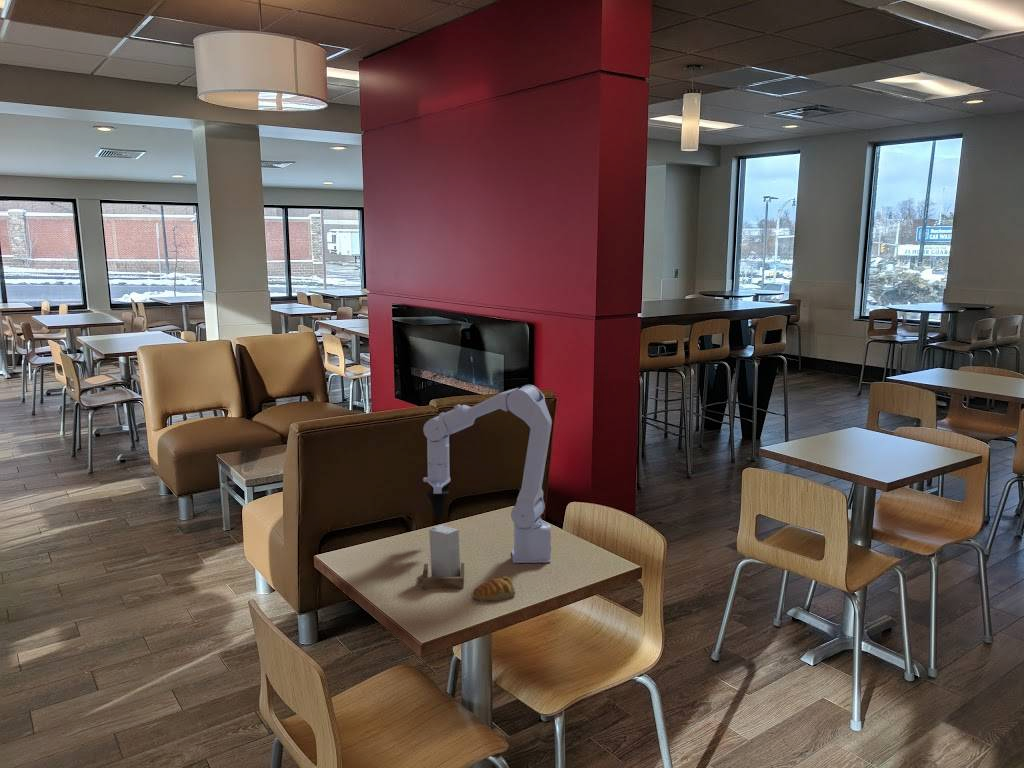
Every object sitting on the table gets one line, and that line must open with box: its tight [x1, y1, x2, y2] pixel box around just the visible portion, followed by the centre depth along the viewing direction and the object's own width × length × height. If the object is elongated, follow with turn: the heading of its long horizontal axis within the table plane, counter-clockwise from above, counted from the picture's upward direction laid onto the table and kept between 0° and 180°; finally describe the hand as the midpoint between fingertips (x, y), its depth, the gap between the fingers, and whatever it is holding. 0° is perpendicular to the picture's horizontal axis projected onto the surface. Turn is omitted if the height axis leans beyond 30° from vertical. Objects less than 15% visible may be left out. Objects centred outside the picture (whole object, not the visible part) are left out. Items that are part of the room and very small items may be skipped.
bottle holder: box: [421, 562, 465, 590], centre depth 176 cm, size 10×9×2 cm
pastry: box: [472, 576, 516, 602], centre depth 168 cm, size 9×7×4 cm
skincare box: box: [428, 524, 461, 577], centre depth 177 cm, size 6×4×12 cm
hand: (439, 511), depth 197 cm, fingers open, 7 cm apart
